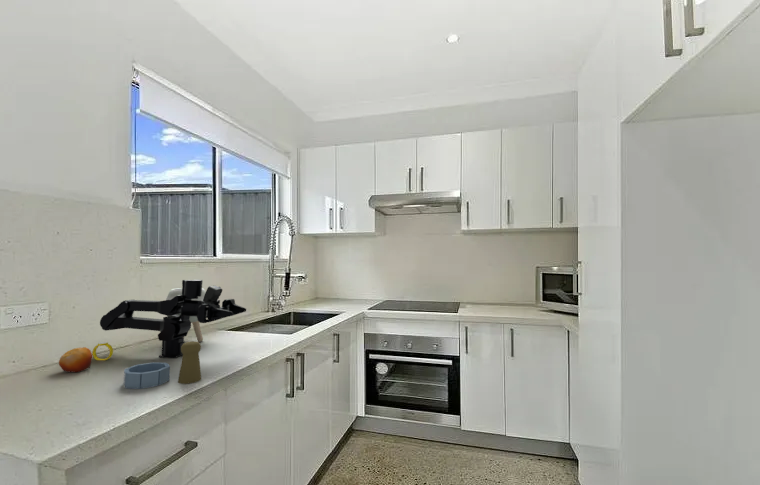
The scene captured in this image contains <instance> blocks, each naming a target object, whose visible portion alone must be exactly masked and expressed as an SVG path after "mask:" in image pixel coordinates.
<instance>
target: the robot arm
mask: <svg viewBox="0 0 760 485" xmlns="http://www.w3.org/2000/svg"><path fill="white" fill-rule="evenodd" d="M181 282H182V283H181V285H182V286H181V288H182V295H178V296H175V297H174V298H173V299H170V300H166V299H165V300H144V299H142V300H141V299H140V300H139V299H126V300H123V301H120V303H119V304H117V306H115V307H114V308H112V309H111V310H109V311H108V312H107V313H106V314H104V315H103V316H101V318H100V321H99V325H100V328H101V329H102V330H103V331H115V330H120V329H121V330H122V329H130V330H131V329H132V330H133V329H134V330H141V331H142V330H143V331H154V332H159V333H158V334H157V338H158V341H159V342H161V354H160V355H158V358H170V359H172V358H173V359H175V358H178V357H180V356H181V357H182V356H183V354H182V352H181V346H182V345H183V344H184V343H186V342H185V337H187V336H188V334H189V331H191V329H192V323H191V322H190V320H189V319H190V316H195V317H197V318H198V319H197V320H198V321H199V324H206V323H211V322H212V323H213V322H214V321H218V320H221V319H224V318H228V317H233V316H236V315H239V314H242V313H246V312H247V308H246V307H243V306H240V305H238V304H236V302H235V301H236V300H235V299H234V298H227V299H224V300H223V301H222V303H221V300H220V297H221V295H222V292H223V288H222V287H221V286H217V285H210V286H208V287H207V289H206V290H205V291H206V293H205V295H204V299H203V301H198V300H191V299H198V296H201V295H202V288H203V279H182V281H181ZM220 303H221V304H220ZM135 312H148V313H149V312H150V313H151V312H154V313H158V314H160V315H163V316H164V317H163V318H154V317H153V318H149V317H140V316H139V317H137V316H134V313H135ZM180 313H181V315H180V316H178V315H176V314H180ZM171 315H172V316H171ZM184 336H185V337H184ZM182 337H184V338H182Z"/></svg>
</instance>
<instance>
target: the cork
mask: <svg viewBox="0 0 760 485" xmlns="http://www.w3.org/2000/svg"><path fill="white" fill-rule="evenodd" d="M201 349H202V345H201V342H198V341H197V340H196V341H194V340H191V341H186V342H185V343H184V344H183V345H182V346H181V352H182V354H183V355H182V356H181V357H182V358H181V361H180V362H181V364H180V369H179V374H178V380H177V382H178V383H179V384H182V385H186V384H194V383H197V382H198V383H199V382H200V381H201V380H202V372H201V361H200V351H201Z"/></svg>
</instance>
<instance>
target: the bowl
mask: <svg viewBox="0 0 760 485" xmlns="http://www.w3.org/2000/svg"><path fill="white" fill-rule="evenodd" d="M170 370H171V366H170V365H169V363H167V362H147V363H146V362H145V363H140V364H134V365H132V366H129V367H126V368H124V370H123V381H122V382H123V387H124V388H125V389H130V390H131V389H133V390H141V389H149V388H152V387H153V388H154V387H157V386H161V385H163V384H164V383H166V382H167V383H168V382H169V381H170V373H171V372H170Z"/></svg>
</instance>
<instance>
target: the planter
mask: <svg viewBox="0 0 760 485" xmlns="http://www.w3.org/2000/svg"><path fill="white" fill-rule="evenodd" d="M206 291H207V290H206V289H205V288H203V287H202V295H201V296H198V299H191V300H198V301H203V299H204V295H205V293H206ZM178 295H182V287H181V288H180V287H179V288H171V289H170V291H169V292H168V294H167V296H166V299H165V300H170V299H173V298H174V297H175V296H178ZM176 315H178V316H180V315H181V313H180V314H176ZM171 316H172V315H171ZM197 319H198V318H197V317H195V316H190V319H189V320H190V322H191V325H192V328H193V331H194V334H195V337H196V339H197V340H196V341H197V342H199V343H202V342H203V341H204V338H203V333H202V330H201V325H200V324H201V323H200V322H199V321H198V320H197ZM185 337H186V336H184V337H182V338H184V339H185Z"/></svg>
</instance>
